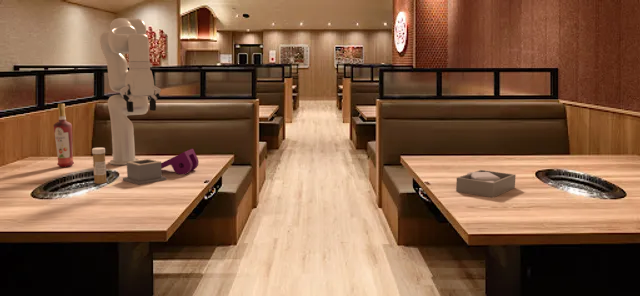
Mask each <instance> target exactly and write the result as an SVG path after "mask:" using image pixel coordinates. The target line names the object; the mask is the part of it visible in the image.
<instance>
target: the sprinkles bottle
mask: <svg viewBox="0 0 640 296" xmlns="http://www.w3.org/2000/svg"><path fill="white" fill-rule="evenodd" d="M91 154H92V160H93V161H92V163H93V164H92V166H93V178H94V181H93V182H94V184H96V185H97V184H101V185H102V184H105V183H107V165H106V148H105V147H93V148H92V149H91Z"/></svg>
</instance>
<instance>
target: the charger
mask: <svg viewBox="0 0 640 296" xmlns="http://www.w3.org/2000/svg"><path fill="white" fill-rule="evenodd" d="M470 173H473V174H471V176H470V179H472V180H478V181H485V182H495V181H498V180H500V177H498V176H496V175H494V174H492V173H490V172H476V171H472V172H467V174H470Z"/></svg>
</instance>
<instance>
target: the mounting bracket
mask: <svg viewBox="0 0 640 296" xmlns="http://www.w3.org/2000/svg"><path fill="white" fill-rule="evenodd" d="M168 166H171V167H172V169H173V171H174V172H175V173H176V174H178V175H186V174H188V173H190V172H192V171H195V170H196V169H197V167H198V166H199V158H198V156H197V154H196V152H195V150H194V148H190V149H188V150H186V151H183V152H181V153H179V154H177V155H175V156H173V157H170V158H169V159H167V160H165V161H163V162H161V170H163V169H164V168H166V167H168Z"/></svg>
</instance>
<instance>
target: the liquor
mask: <svg viewBox="0 0 640 296" xmlns="http://www.w3.org/2000/svg"><path fill="white" fill-rule="evenodd" d="M57 108H58V121H57V122H55V123H54V124H53V132H54V140H55V147H56V154H57V166H58V167H60V168H70V167H72V166H73V165H74V164H75V163H74V159H73V158H74V157H73V156H74V154H73V124H72V123H71V122H69V121H67V118H66V117H67V116H66V112H65V111H66V110H65V109H66V104H65V103H57Z"/></svg>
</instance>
